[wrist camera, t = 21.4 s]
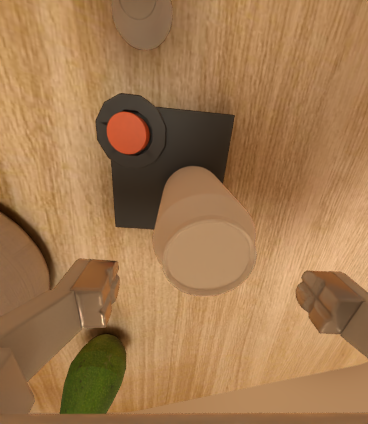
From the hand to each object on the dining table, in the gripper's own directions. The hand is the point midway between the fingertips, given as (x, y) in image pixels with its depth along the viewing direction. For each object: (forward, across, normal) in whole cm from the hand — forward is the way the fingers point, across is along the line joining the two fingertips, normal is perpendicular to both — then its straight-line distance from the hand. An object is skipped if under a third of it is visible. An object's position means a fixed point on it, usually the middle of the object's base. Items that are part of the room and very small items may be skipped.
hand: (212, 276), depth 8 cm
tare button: (+12, +6, -5) cm, 15 cm away
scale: (+15, +3, -1) cm, 15 cm away
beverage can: (+14, 0, 0) cm, 14 cm away
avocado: (+14, +12, +28) cm, 34 cm away
